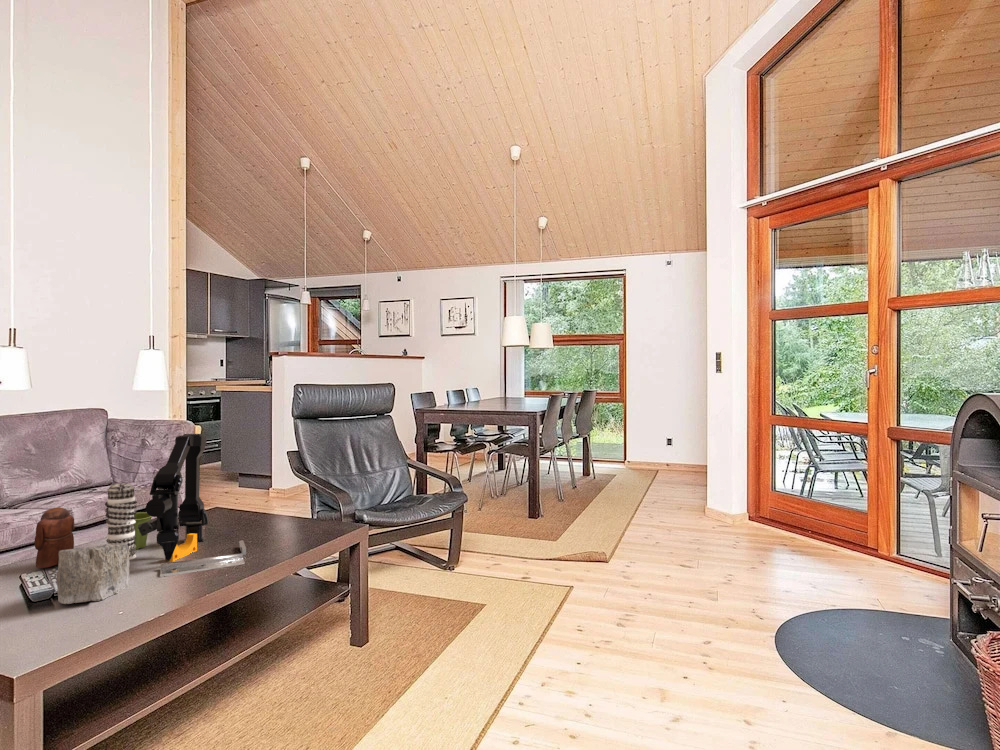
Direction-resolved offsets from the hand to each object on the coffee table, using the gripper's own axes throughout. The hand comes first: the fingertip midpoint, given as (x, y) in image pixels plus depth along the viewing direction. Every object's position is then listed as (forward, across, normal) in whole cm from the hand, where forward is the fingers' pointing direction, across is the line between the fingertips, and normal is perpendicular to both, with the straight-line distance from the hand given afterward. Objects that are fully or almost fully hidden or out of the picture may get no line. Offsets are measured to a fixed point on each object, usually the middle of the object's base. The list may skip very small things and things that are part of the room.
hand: (168, 557), depth 202 cm
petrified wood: (+2, +22, -18) cm, 29 cm away
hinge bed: (+2, +8, +10) cm, 13 cm away
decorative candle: (+2, -12, -14) cm, 18 cm away
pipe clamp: (+2, -5, +3) cm, 6 cm away
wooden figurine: (+2, -16, -33) cm, 37 cm away
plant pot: (+2, -24, -11) cm, 27 cm away
